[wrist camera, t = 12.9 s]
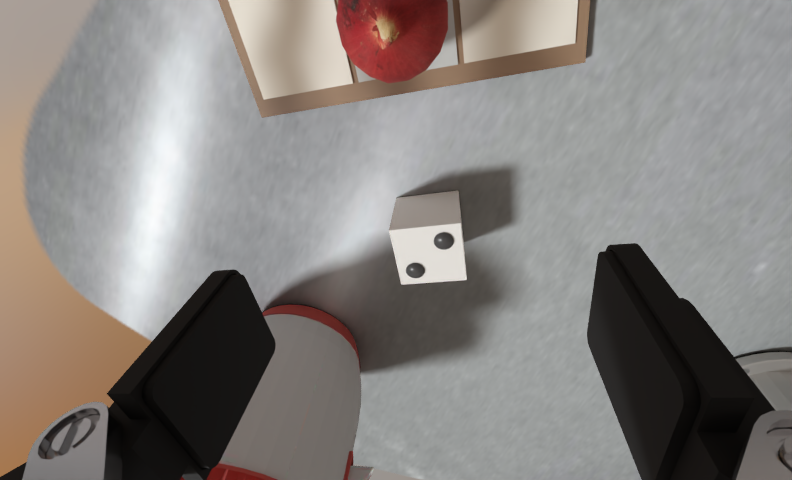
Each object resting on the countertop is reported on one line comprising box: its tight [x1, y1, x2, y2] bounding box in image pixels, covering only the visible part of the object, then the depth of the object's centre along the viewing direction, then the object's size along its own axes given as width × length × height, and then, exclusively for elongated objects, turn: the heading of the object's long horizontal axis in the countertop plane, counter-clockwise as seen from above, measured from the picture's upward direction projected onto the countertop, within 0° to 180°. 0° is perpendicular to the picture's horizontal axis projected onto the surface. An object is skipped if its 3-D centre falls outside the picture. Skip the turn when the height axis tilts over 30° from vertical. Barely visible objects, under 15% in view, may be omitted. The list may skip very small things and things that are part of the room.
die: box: [389, 191, 467, 285], centre depth 29 cm, size 5×5×5 cm
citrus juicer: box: [180, 304, 373, 480], centre depth 33 cm, size 16×17×20 cm
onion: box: [336, 0, 448, 83], centre depth 19 cm, size 6×6×8 cm
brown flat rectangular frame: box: [218, 0, 590, 118], centre depth 23 cm, size 22×9×1 cm, turn 100°
